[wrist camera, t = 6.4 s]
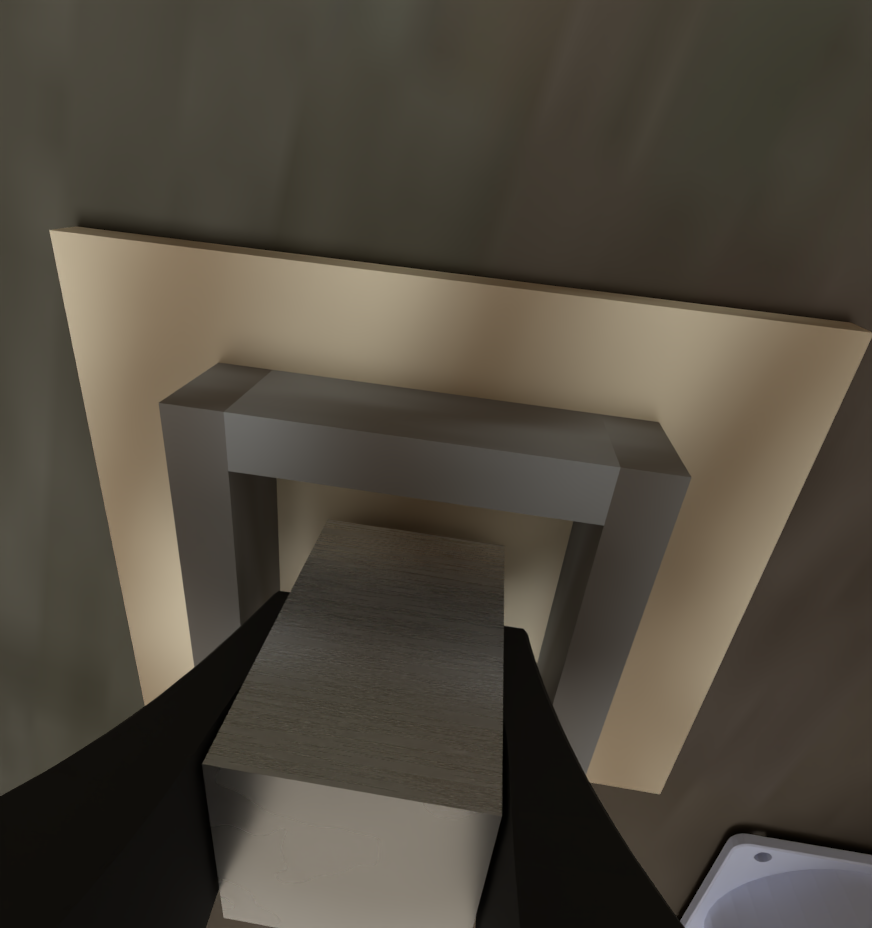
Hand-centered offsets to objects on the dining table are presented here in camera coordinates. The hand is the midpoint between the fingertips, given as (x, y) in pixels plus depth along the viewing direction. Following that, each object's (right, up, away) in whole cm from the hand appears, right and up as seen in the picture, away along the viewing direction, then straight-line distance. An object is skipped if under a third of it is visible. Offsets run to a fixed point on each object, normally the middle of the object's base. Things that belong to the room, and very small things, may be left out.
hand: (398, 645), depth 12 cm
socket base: (0, +2, +3) cm, 3 cm away
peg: (0, 0, +2) cm, 2 cm away
